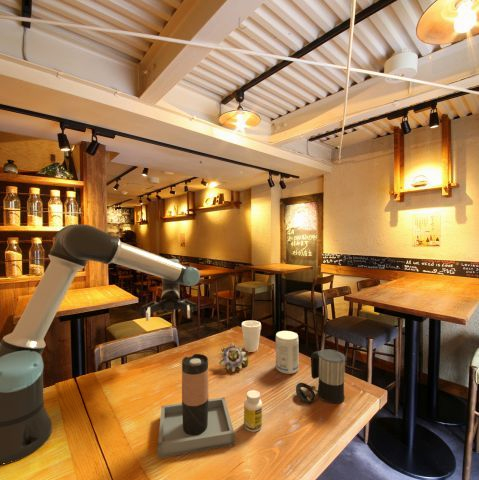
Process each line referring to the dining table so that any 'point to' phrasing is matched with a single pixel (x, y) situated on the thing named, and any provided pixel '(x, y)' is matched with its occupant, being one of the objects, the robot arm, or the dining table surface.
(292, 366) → the supplement tub
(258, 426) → the supplement bottle
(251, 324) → the foam cup
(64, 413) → the dining table surface
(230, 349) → the passion flower
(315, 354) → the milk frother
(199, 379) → the travel mug
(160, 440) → the tray
